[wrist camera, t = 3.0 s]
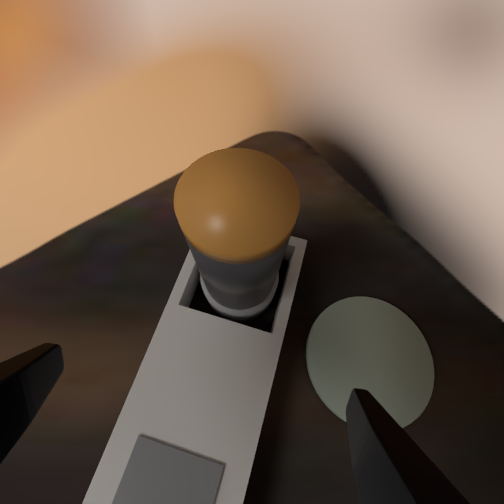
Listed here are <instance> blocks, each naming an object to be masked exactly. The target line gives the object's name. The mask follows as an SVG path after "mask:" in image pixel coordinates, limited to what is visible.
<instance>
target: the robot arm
mask: <svg viewBox="0 0 504 504" xmlns="http://www.w3.org/2000/svg"><path fill="white" fill-rule="evenodd" d="M63 369H64V361H63V355H62V349H61V347H60V345H58V344H51V343H44V344H42V345H39V346H37V347H35V348H33V349H30V350H28V351H26V352H24V353H21V354H19V355H17V356H15V357H12V358H10V359H8V360H6V361H3V362H1V363H0V464H1V463H2V461H3V460H4V459H5V457H6V456H7V455H8V453H9V452H10V451H11V449H12V448H13V447H14V445H15V444H16V443H17V441H18V440H19V438H20V437H21V436H22V434H23V433H24V432H25V430H26V429H27V428H28V426H29V425H30V423H31V422H32V420H33V419H34V417H35V416H36V414H37V413H38V411H39V410H40V408H41V406H42V405H43V403H44V401H45V400H46V398H47V397H48V395H49V393H50V392H51V390H52V388H53V387H54V385H55V384H56V382H57V380H58V379H59V377H60V376H61V374H62V372H63ZM346 421H347V429H348V437H349V445H350V453H351V461H352V468H353V474H354V479H355V484H356V488H357V492H358V497H359V501H360V504H470V503H469V502H468V501H467V500H466V499H465V497H464V496H463V495H462V494H461V493H460V492H459V491H458V490H457V489H456V487H455V486H454V485H453V484H452V483H451V482H450V481H449V480H448V479H447V477H446V476H445V475H444V474H443V473H442V472H441V471H440V470H439V469H438V467H437V466H436V465H435V464H434V463H433V462H432V461H431V460H430V459H429V457H428V456H427V455H426V454H425V453H424V452H423V451H422V450H421V449H420V447H419V446H418V445H417V444H416V443H415V442H414V441H413V440H412V439H411V437H410V436H409V435H408V434H407V433H406V432H405V431H404V430H403V429H402V427H401V426H400V425H399V424H398V423H397V422H396V421H395V420H394V419H393V418H392V416H391V415H390V414H389V413H388V412H387V411H386V410H385V409H384V408H383V406H382V405H381V404H380V403H379V402H378V401H377V400H376V399H375V398H374V396H373V395H372V394H371V393H370V392H369V391H368V390H366V389H359V388H354V389H353V390H352V391H351V394H350V397H349V400H348V403H347V407H346Z"/></svg>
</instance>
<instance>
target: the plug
mask: <svg viewBox="0 0 504 504" xmlns="http://www.w3.org/2000/svg"><path fill="white" fill-rule="evenodd" d="M299 208H300V195H299V190H298V186H297V184H296V181H295V179H294V178H293V176H292V174H291V173H290V172H289V171H288V169H287V168H286V167H285V166H284V165H283V164H282V163H280V162H279V161H278V160H276V159H275V158H273V157H271V156H270V155H267V154H265V153H263V152H260V151H256V150H252V149H246V148H228V149H222V150H217V151H214V152H211V153H209V154H207V155H204V156H203V157H201V158H199V159H198V160H196V161H195V162H194V163H192V164H191V165H190V166H189V167H188V168H187V169H186V170H185V172H184V173H183V174H182V176H181V177H180V179H179V181H178V183H177V186H176V189H175V193H174V209H175V213H176V217H177V219H178V221H179V224H180V226H181V229H182V231H183V233H184V236H185V238H186V241H187V243H188V246H189V248H190V250H191V253H192V255H193V258H194V260H195V262H196V265H197V267H198V270H199V272H200V281H201V286H202V289H203V291H204V294H205V296H206V298H207V300H208V302H209V304H210V306H211V307H212V309H213V310H214V311H215V312H216V313H217V314H219V315H220V316H222V317H223V318H225V319H228V320H232V321H248V320H251V319H254V318H256V317H258V316H259V315H261V314H262V313H263V312H264V311H265V310H266V309H267V308H268V307H269V305H270V303H271V301H272V299H273V296H274V294H275V291H276V288H277V286H278V281H279V269H280V266H281V263H282V260H283V257H284V254H285V251H286V248H287V245H288V242H289V239H290V236H291V233H292V231H293V228H294V225H295V222H296V219H297V216H298V213H299Z"/></svg>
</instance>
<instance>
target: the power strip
mask: <svg viewBox="0 0 504 504" xmlns="http://www.w3.org/2000/svg"><path fill="white" fill-rule="evenodd" d="M306 244H307V240H304V239H301V238H297V237H293V236H290V239H289V242H288V245H287V248H286V251H285V254H284V257H283V260H286V261H289V264H288V268H287V272H286V275H285V279H284V283H283V287H282V291H281V294H280V298H279V302H278V306H277V309H276V313H275V317H274V321H273V325H272V328H271V332H270V333H268V332H265V331H262V330H259V329H255V328H252V327H249V326H246V325H243V324H239V323H236V322H233V321H230V320H226V319H223V318H220V317H217V316H213V315H210V314H207V313H204V312H201V311H197V310H194V309H191V308H189V306H190V303H191V301H192V298H193V296H194V293H195V291H196V288H197V285H198V283H199V280H200V272H199V270H198V267H197V265H196V262H195V260H194V258H193V255H192V253H191V250H189V253H188V255H187V257H186V260H185V262H184V265H183V267H182V269H181V272H180V274H179V276H178V279H177V281H176V283H175V286H174V288H173V291H172V293H171V295H170V298H169V300H168V302H167V305H166V307H165V309H164V312H163V314H162V317H161V319H160V321H159V324H158V326H157V328H156V331H155V333H154V335H153V338H152V340H151V342H150V345H149V347H148V350H147V352H146V354H145V357H144V359H143V361H142V364H141V366H140V368H139V371H138V373H137V376H136V378H135V380H134V383H133V385H132V387H131V390H130V392H129V394H128V397H127V399H126V402H125V404H124V406H123V409H122V411H121V413H120V416H119V418H118V420H117V423H116V425H115V428H114V430H113V432H112V435H111V437H110V439H109V442H108V444H107V446H106V449H105V451H104V453H103V456H102V458H101V461H100V463H99V465H98V468H97V470H96V472H95V475H94V477H93V479H92V482H91V484H90V487H89V489H88V491H87V494H86V496H85V498H84V501H83V503H82V504H243V501H244V497H245V493H246V489H247V485H248V481H249V477H250V473H251V469H252V464H253V460H254V456H255V452H256V448H257V444H258V440H259V436H260V432H261V428H262V424H263V420H264V416H265V411H266V407H267V403H268V399H269V395H270V391H271V387H272V383H273V379H274V375H275V371H276V367H277V362H278V358H279V354H280V350H281V346H282V342H283V338H284V334H285V330H286V326H287V322H288V318H289V313H290V309H291V305H292V301H293V297H294V293H295V289H296V285H297V281H298V277H299V273H300V269H301V265H302V260H303V256H304V252H305V248H306Z"/></svg>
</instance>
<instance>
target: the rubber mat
mask: <svg viewBox="0 0 504 504" xmlns="http://www.w3.org/2000/svg"><path fill="white" fill-rule="evenodd" d="M306 366H307V370H308V375H309V377H310V380H311V383H312V385H313V387H314V389H315V391H316V393H317V394H318V396H319V397H320V399H321V400H322V402H323V403H324V404H325V405H326V406H327V408H329V409H330V410H331V411H332V412H333V413H334V414H335V415H336V416H338V417H339V418H340V419H342V420H344V421H345V422H347V421H346V407H347V403H348V400H349V397H350V394H351V391H352V390H353V389H354V388H359V389H366V390H368V391H369V392H370V393H371V394H372V395H373V396H374V398H375V399H376V400H377V401H378V402H379V403H380V404H381V405H382V406H383V408H384V409H385V410H386V411H387V412H388V413H389V414H390V415H391V416H392V418H393V419H394V420H395V421H396V422H397V423H398V424H399V425H400V426H401V427H402V428H403V427H405V426H407V425H409V424H410V423H412V422H413V421H414V420H416V419H417V418H418V417H419V416H420V415H421V413H422V412H423V411H424V410H425V408H426V406H427V404H428V403H429V400H430V398H431V395H432V391H433V387H434V365H433V359H432V355H431V352H430V349H429V347H428V344H427V342H426V340H425V338H424V336H423V334H422V333H421V331H420V330H419V328H418V327H417V326H416V325H415V323H414V322H413V321H412V320H411V319H410V318H409V317H408V316H407V315H406V314H404V313H403V312H402V311H401V310H399V309H398V308H396V307H395V306H393V305H391V304H389V303H387V302H385V301H382V300H379V299H376V298H371V297H363V296H361V297H350V298H346V299H342V300H340V301H338V302H335V303H334V304H332V305H331V306H329V307H328V308H326V309H325V310H324V311H323V312H322V313H321V314H320V315H319V316H318V317H317V319H316V320H315V322H314V323H313V325H312V327H311V329H310V332H309V335H308V338H307V343H306Z"/></svg>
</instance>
